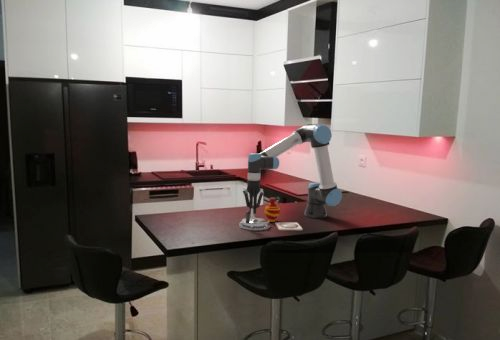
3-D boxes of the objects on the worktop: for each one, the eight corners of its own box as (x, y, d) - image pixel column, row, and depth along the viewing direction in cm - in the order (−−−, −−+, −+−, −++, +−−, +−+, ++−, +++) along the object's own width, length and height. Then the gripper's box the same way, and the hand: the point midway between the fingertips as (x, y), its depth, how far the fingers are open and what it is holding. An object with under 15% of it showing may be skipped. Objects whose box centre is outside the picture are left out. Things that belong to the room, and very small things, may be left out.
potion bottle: (268, 218, 274) (269, 195, 272) (282, 220, 269) (283, 197, 267) (260, 221, 265) (261, 198, 263) (275, 223, 260) (276, 200, 258)
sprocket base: (267, 222, 263) (267, 220, 263) (272, 230, 244) (272, 229, 244) (237, 222, 260) (237, 220, 260) (240, 230, 242) (240, 229, 242)
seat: (297, 224, 261) (297, 222, 261) (302, 230, 247) (302, 228, 247) (275, 224, 259) (275, 222, 259) (279, 230, 245) (279, 228, 245)
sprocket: (274, 224, 253) (275, 210, 251) (257, 229, 240) (258, 214, 238) (251, 219, 264) (252, 205, 263) (233, 223, 251) (234, 209, 250)
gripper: (266, 179, 243) (264, 219, 246) (246, 178, 248) (245, 216, 251) (261, 181, 236) (260, 221, 239) (241, 179, 241) (240, 219, 244)
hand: (252, 219), depth 245 cm, fingers closed
